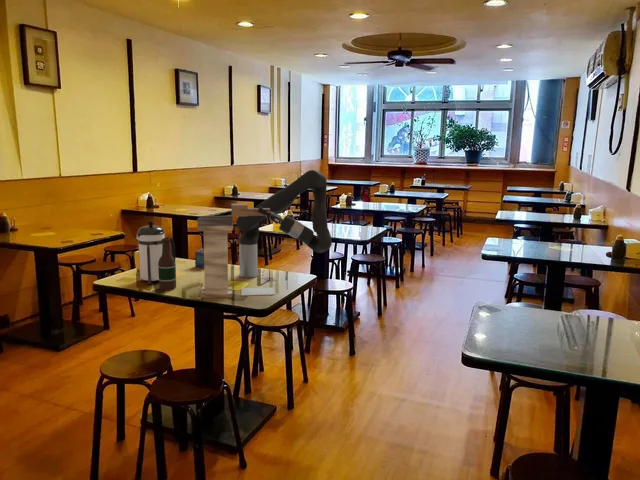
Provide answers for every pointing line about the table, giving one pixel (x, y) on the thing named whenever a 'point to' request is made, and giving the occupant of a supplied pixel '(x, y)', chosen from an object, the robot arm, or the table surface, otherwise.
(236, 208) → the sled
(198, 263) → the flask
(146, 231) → the coffee press
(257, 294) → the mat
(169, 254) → the beer bottle
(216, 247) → the pedestal
